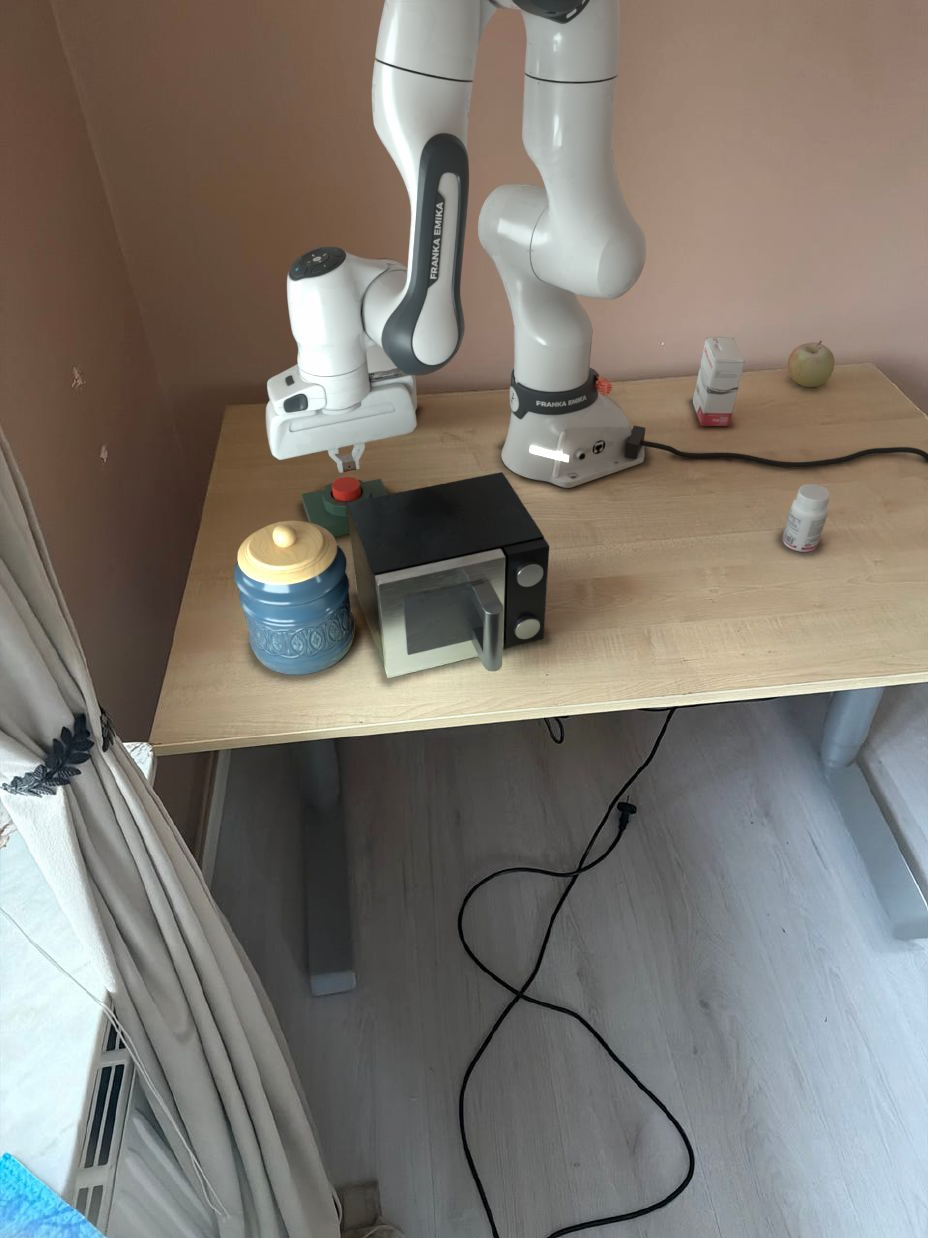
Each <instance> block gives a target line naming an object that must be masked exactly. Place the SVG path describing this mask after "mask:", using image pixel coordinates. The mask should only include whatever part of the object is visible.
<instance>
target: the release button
mask: <svg viewBox="0 0 928 1238" xmlns="http://www.w3.org/2000/svg"><path fill="white" fill-rule="evenodd" d="M357 479H358V478H356V477H353V476H342V477H338V478H336V479H334V481H332V482H331V483H332V491H333V497H334V499H335V500H337V501H342V502H348V501H354V500H356V499H358V498H359V497H360V495H361V488H360V482H359V480H360V479H358V480H357Z"/></svg>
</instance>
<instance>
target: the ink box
mask: <svg viewBox="0 0 928 1238" xmlns="http://www.w3.org/2000/svg"><path fill="white" fill-rule="evenodd" d="M702 350H703V351H702V354H701V355H702V356H701V360H700V365H699V370H698V374H697V379H696V384H695V388H694V393H693V397H692V404H693V407H694V410H695V413H696V416H697V419H698V421H699V424H700V426H701V427H729V426H730V423H731V419H732V416H733V411H734V407H735V403H736V399H737V395H738V391H739V387H740V383H741V379H742V375H743V371H744V367H745V363H746V360H745V359H744V356H743V354H742V351H741V350H740V348H739V345H738V343H737V341H736V339H735V337H725V336H724V337H723V336H708V337H706V338H705V340H704V346H703V349H702Z"/></svg>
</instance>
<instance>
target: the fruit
mask: <svg viewBox="0 0 928 1238" xmlns="http://www.w3.org/2000/svg"><path fill="white" fill-rule="evenodd" d="M822 342H823V341H822V340H819V342H807V343H802V344H800V345H798V346H796V347H795V348H794V349H793V350H792V351H791V353H790V355H789V356H788V360H787V371H788V374H789V376H790V378H791V380H792V381H794V382H795V383H796V384H798V385H800V386H802V387H805V388H817V387H819V386H822V385H823V384H826V382H828V380H829V379H830V378H831V377H832V374H833V372H834V370H835V356H834V354H833V352H832V351H831V349H830V348H828V347H827V346H826V345H824V344H822Z"/></svg>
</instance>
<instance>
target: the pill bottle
mask: <svg viewBox="0 0 928 1238" xmlns="http://www.w3.org/2000/svg"><path fill="white" fill-rule="evenodd" d="M797 492H798V493H797V495H796V498H794V500H793V501H792V503H791V505H790V509H789V513H788V516H787V520H786V524H785V527H784V531H783V534H782V542H783V544H784V546H786V547H787V548H789V549H790V550H793V551H796V552H799V553H806V552H807V553H808V552H813V551H814V550H815V549H816V548H817V547H818V545H819V542H820V540H821V536H822V535H823V530H824V528H825V524H826V522H827V521H826V520H827V518H828V514H829V505H828V504H829V502H830V497H831V493H830V491H829V490H828V489H827V488H826V487H825V486H822V485H820V484H816V483H807V484H803V485H801V486H800V487H799V488H798V491H797Z"/></svg>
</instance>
